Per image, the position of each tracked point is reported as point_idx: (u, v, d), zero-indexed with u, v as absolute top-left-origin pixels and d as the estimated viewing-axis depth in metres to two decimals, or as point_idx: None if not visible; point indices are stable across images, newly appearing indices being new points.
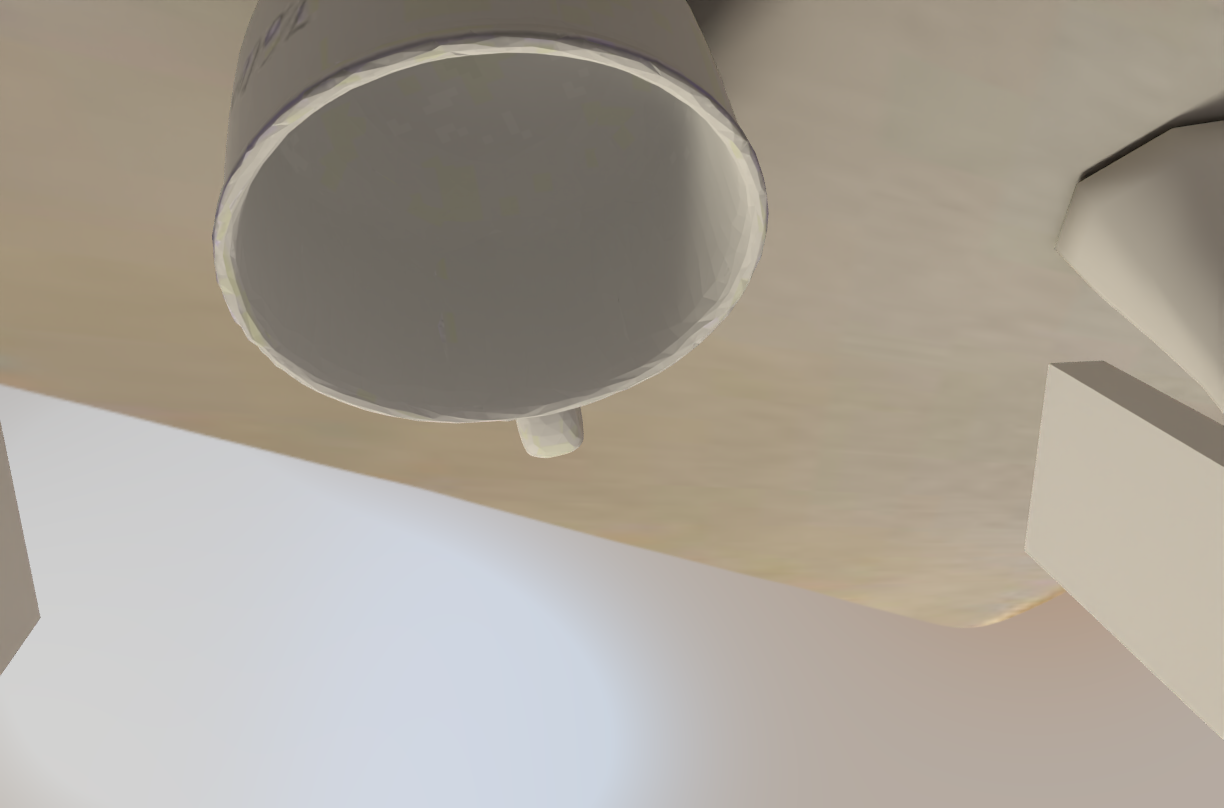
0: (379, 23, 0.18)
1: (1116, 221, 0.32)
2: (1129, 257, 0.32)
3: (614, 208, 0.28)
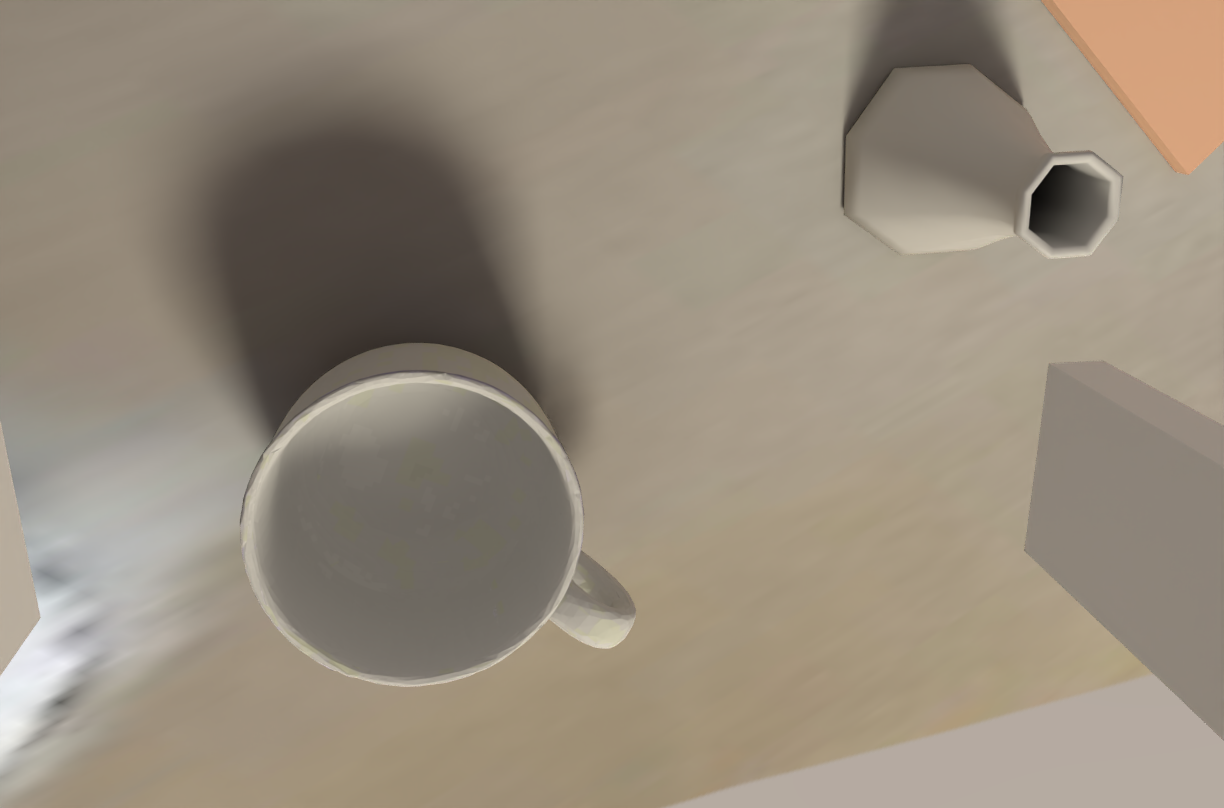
0: None
1: (873, 208, 0.40)
2: (895, 217, 0.39)
3: (549, 473, 0.40)
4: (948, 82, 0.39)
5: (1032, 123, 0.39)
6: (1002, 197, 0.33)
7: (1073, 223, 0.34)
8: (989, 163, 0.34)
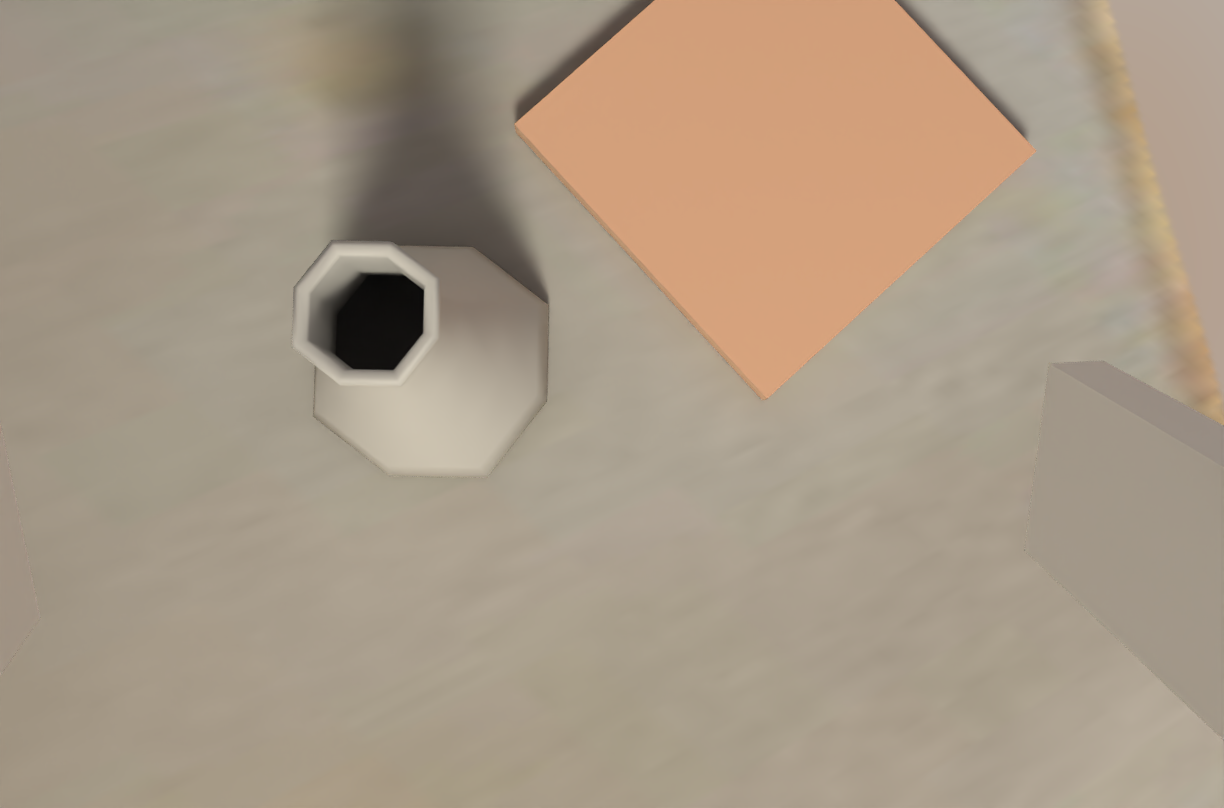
0: None
1: (320, 397, 0.31)
2: (328, 402, 0.30)
3: None
4: (415, 251, 0.31)
5: (515, 301, 0.31)
6: None
7: None
8: (345, 293, 0.26)
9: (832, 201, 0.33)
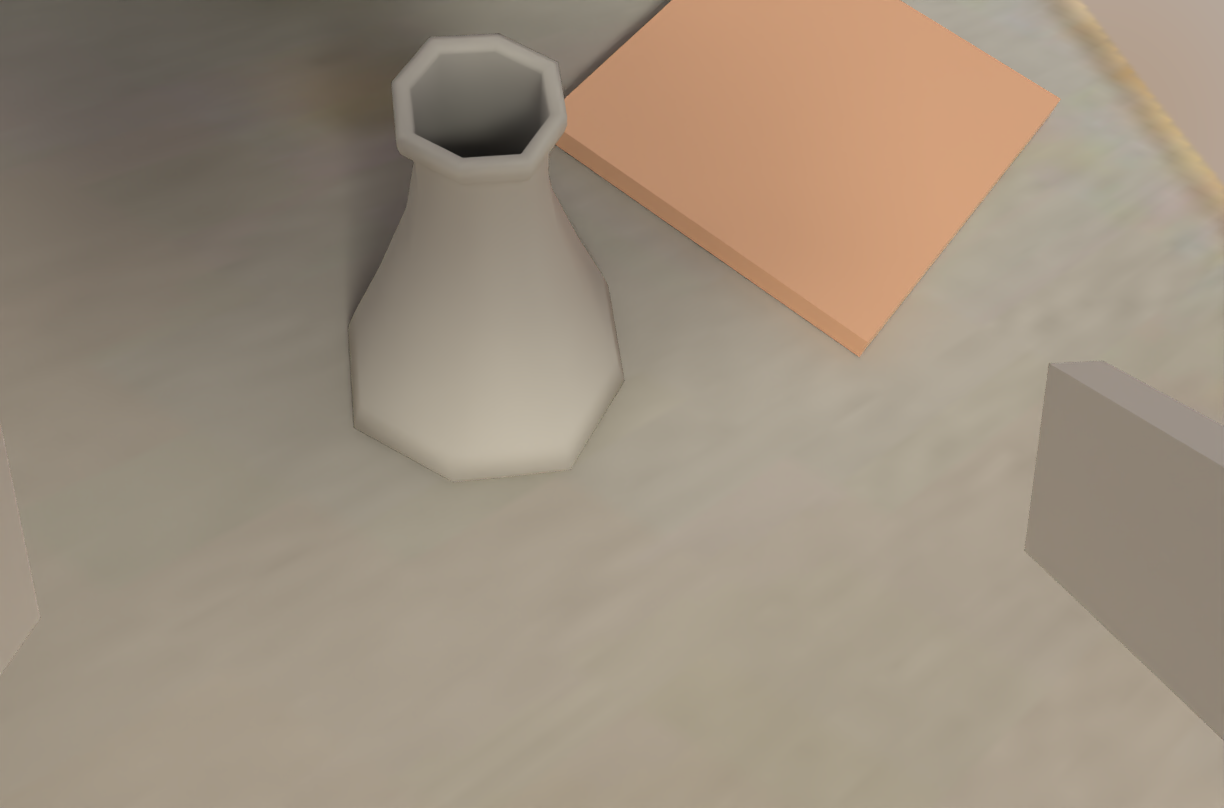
0: None
1: (369, 381, 0.26)
2: (385, 367, 0.25)
3: None
4: None
5: None
6: None
7: None
8: None
9: (881, 156, 0.32)
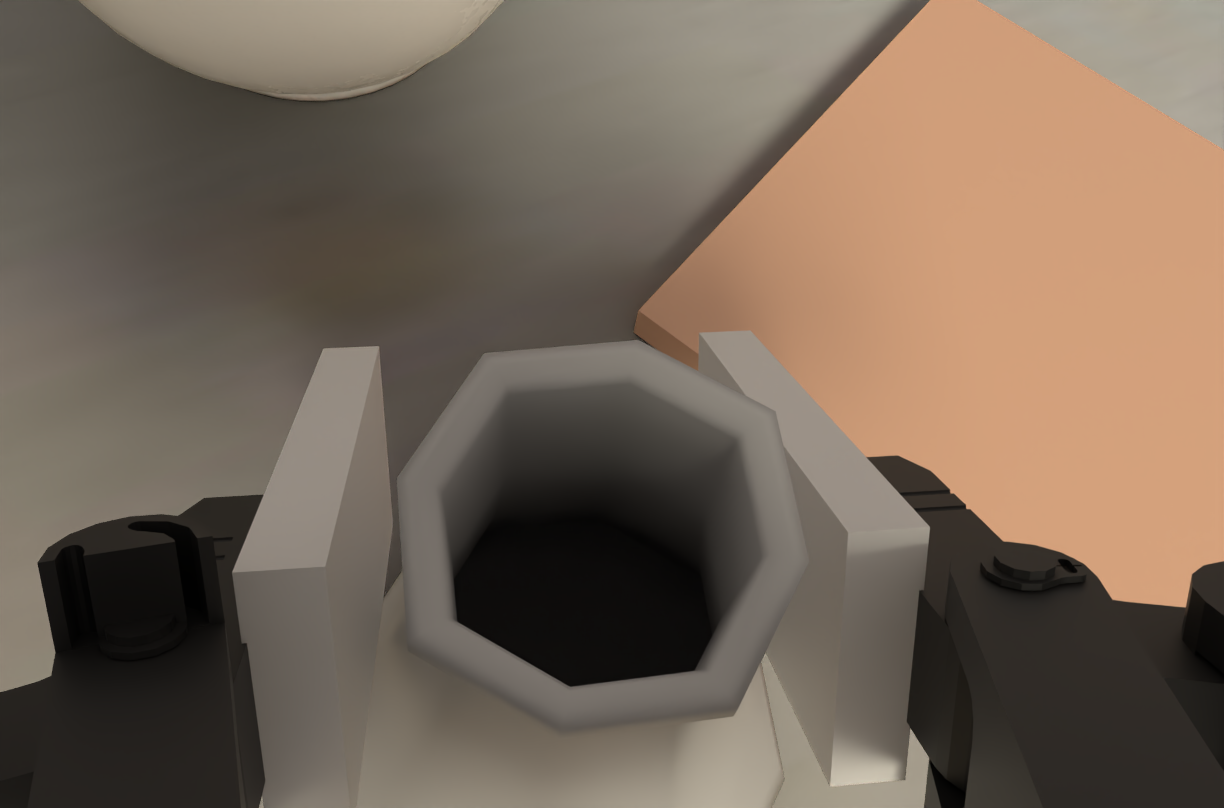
0: None
1: None
2: None
3: None
4: None
5: None
6: None
7: (706, 650, 0.09)
8: None
9: (1163, 370, 0.20)
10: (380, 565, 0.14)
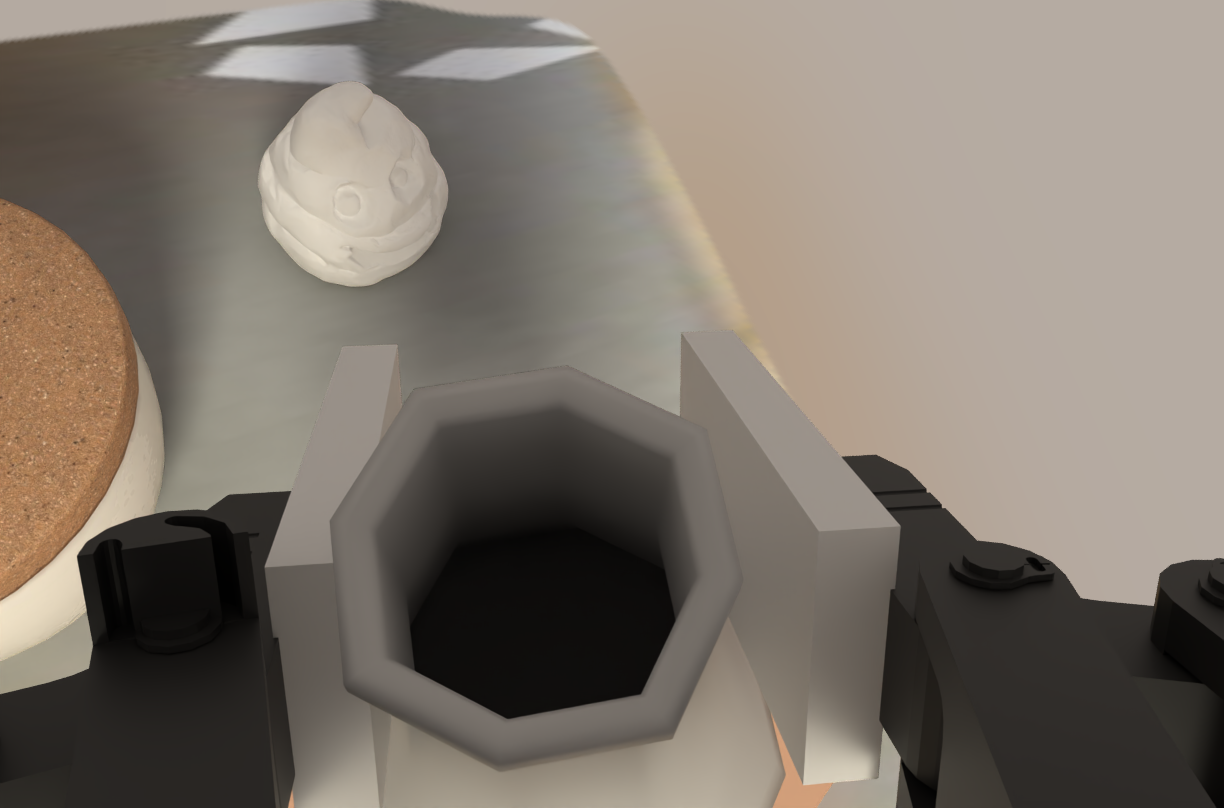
0: None
1: None
2: None
3: None
4: None
5: None
6: None
7: None
8: None
9: None
10: None
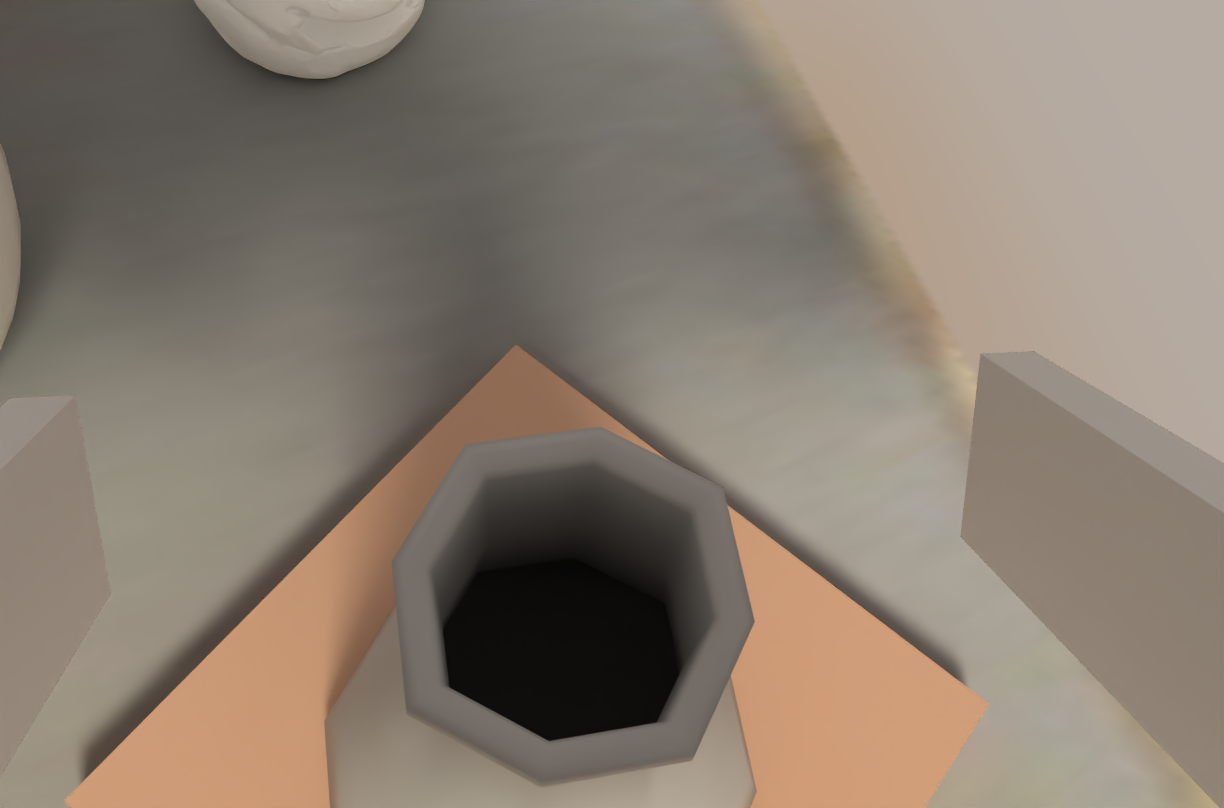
0: None
1: None
2: None
3: None
4: None
5: None
6: None
7: (670, 697, 0.11)
8: None
9: None
10: (43, 654, 0.12)
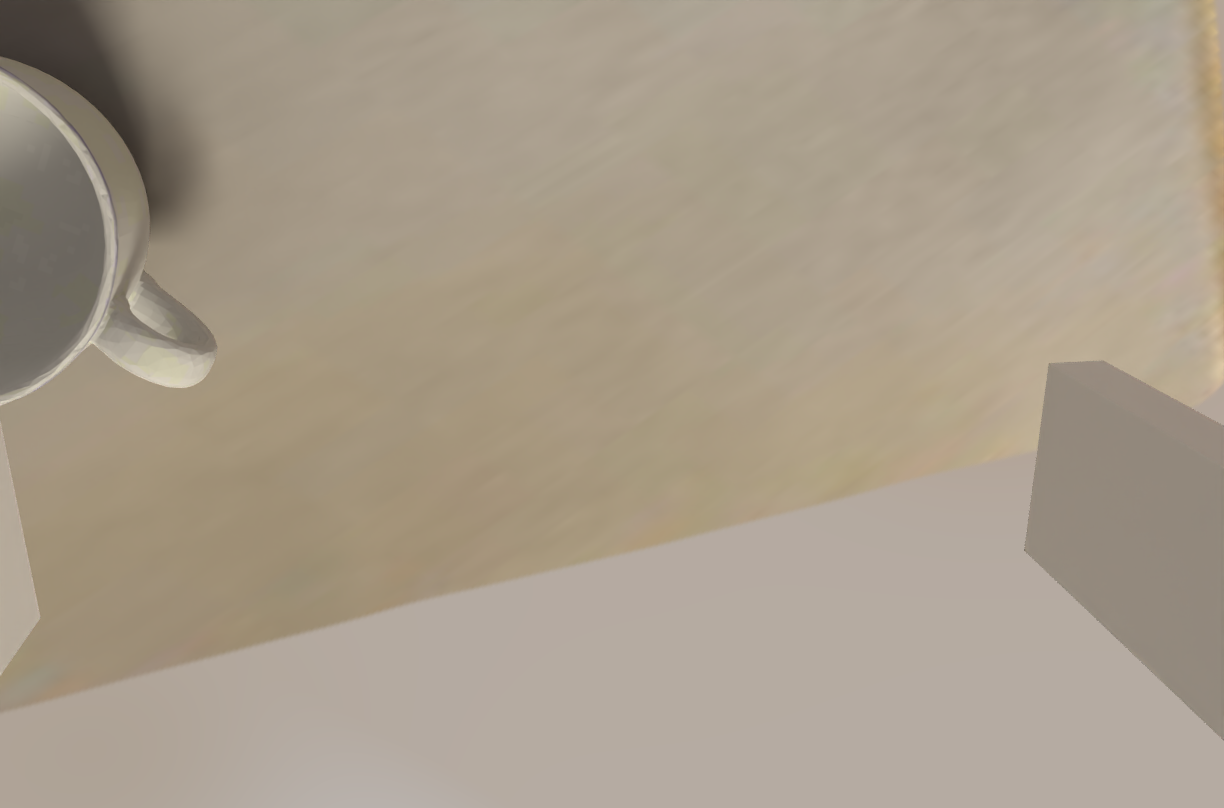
0: None
1: None
2: None
3: None
4: None
5: None
6: None
7: None
8: None
9: None
10: None
